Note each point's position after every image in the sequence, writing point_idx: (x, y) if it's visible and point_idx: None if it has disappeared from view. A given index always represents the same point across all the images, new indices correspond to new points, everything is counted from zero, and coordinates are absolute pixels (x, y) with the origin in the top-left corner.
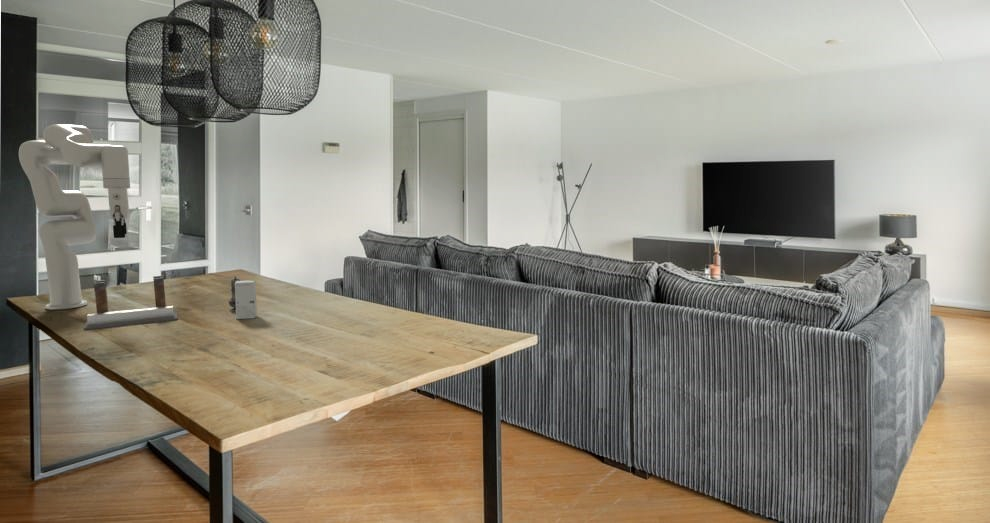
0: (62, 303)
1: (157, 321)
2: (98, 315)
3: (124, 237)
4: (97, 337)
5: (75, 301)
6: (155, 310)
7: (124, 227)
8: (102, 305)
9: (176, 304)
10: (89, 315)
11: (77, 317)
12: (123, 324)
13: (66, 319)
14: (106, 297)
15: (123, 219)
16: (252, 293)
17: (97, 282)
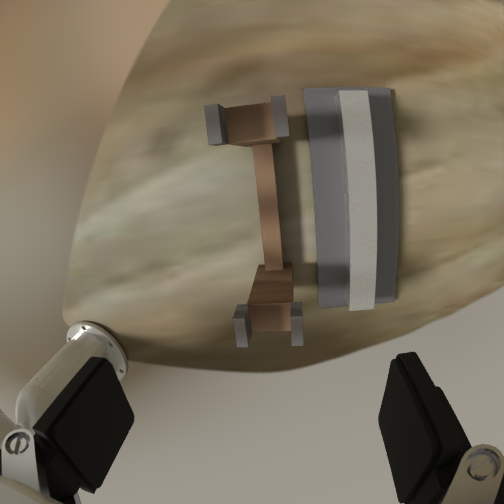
0: (114, 364)
1: (394, 137)
2: (375, 284)
3: (411, 354)
4: (476, 260)
5: (101, 345)
6: (371, 139)
7: (453, 425)
8: (292, 290)
9: (145, 109)
10: (370, 304)
11: (225, 331)
12: (398, 219)
13: (239, 348)
14: (283, 289)
15: (44, 478)
16: None
17: (248, 337)
